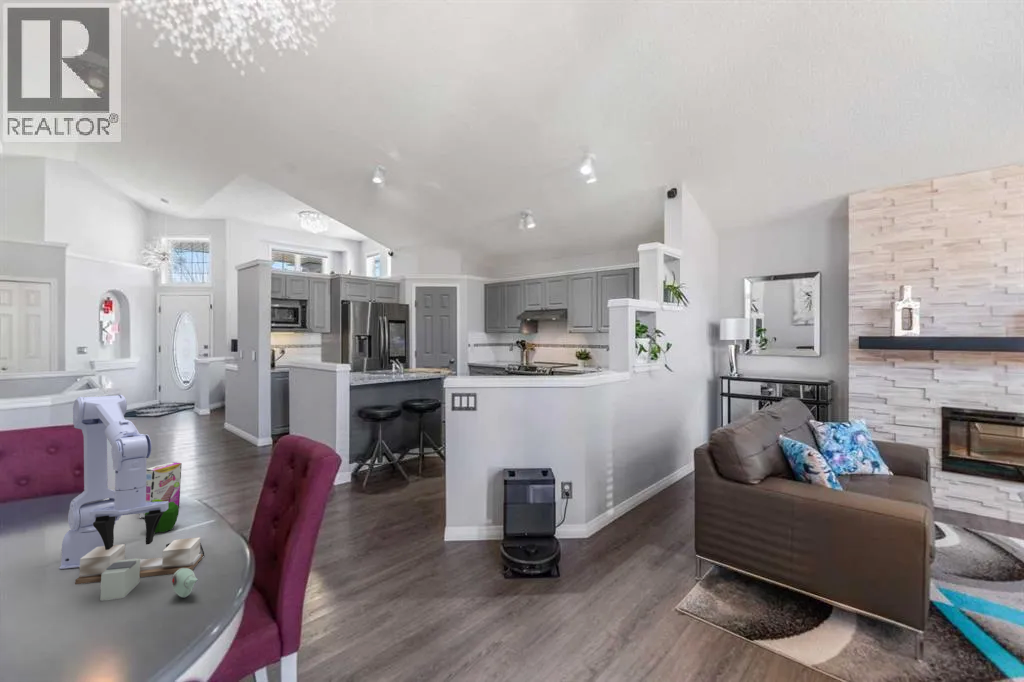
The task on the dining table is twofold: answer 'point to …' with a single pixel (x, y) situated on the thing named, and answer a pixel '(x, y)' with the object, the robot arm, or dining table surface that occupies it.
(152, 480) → the candy bar box
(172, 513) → the bell pepper
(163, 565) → the board
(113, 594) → the block
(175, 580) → the robot head
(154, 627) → the dining table surface
